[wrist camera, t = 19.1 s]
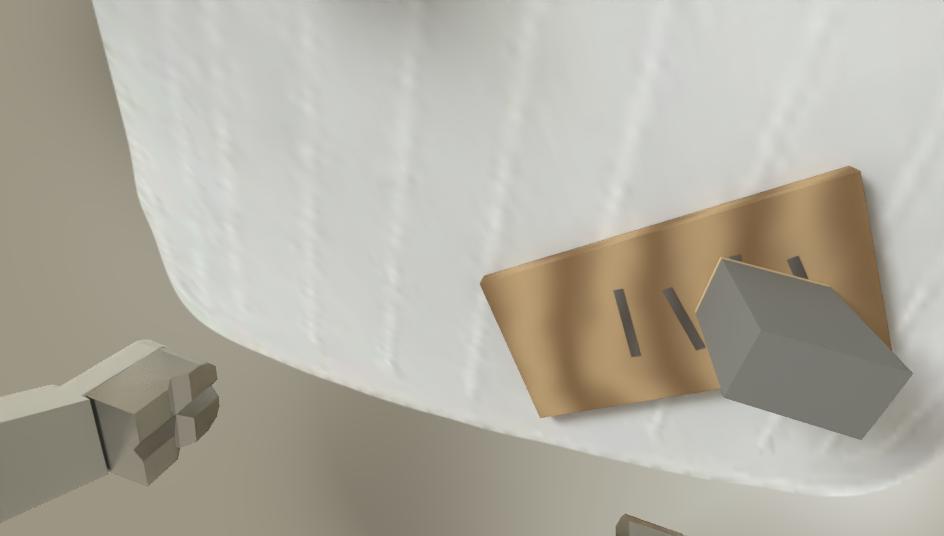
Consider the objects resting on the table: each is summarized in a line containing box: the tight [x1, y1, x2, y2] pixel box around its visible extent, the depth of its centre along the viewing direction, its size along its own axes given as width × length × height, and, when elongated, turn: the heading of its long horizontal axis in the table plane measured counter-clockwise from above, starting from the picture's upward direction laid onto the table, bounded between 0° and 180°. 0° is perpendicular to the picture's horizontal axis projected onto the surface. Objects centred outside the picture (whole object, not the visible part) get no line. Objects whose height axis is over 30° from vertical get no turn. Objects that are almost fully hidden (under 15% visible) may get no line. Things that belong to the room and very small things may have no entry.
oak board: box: [480, 166, 892, 418], centre depth 36 cm, size 26×14×2 cm, turn 114°
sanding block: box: [695, 256, 913, 440], centre depth 29 cm, size 7×4×10 cm, turn 79°
